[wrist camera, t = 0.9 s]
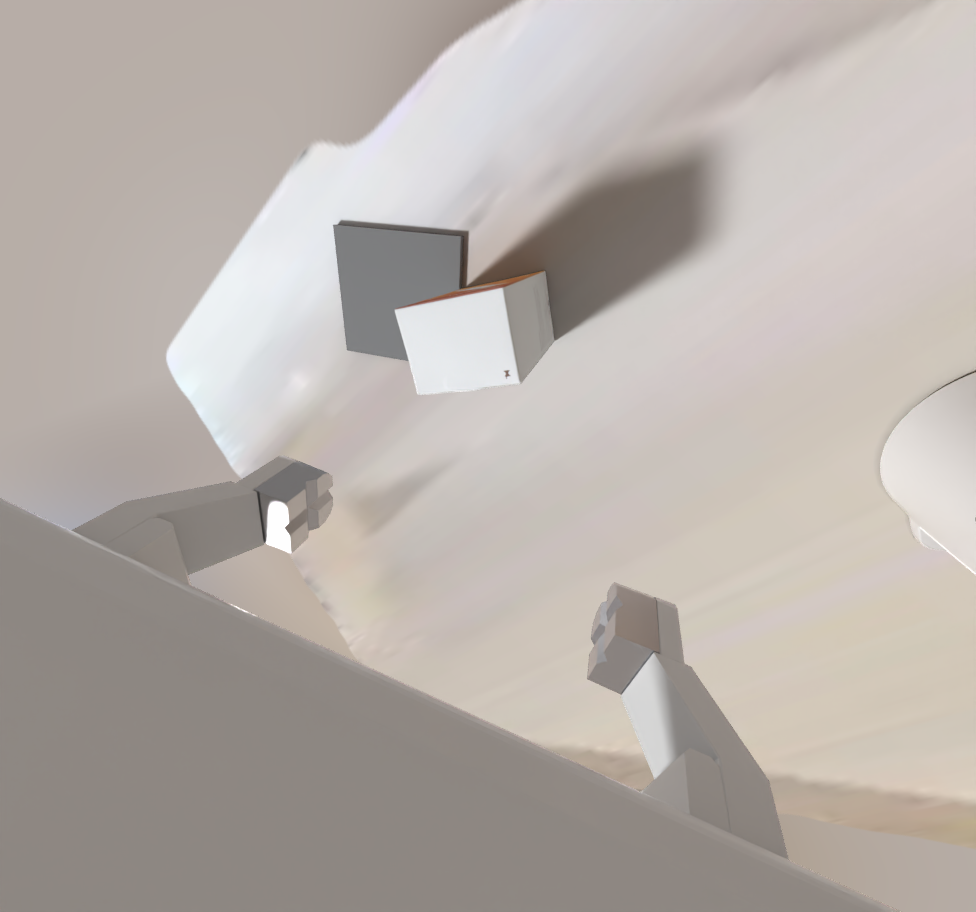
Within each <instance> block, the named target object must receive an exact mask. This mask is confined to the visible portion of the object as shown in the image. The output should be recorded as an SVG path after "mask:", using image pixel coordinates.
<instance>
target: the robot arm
mask: <svg viewBox="0 0 976 912" xmlns="http://www.w3.org/2000/svg"><path fill="white" fill-rule="evenodd" d="M880 474H881V479H882V482H883V485H884V487H885V489H886V491H887V493H888V494H889V496H890V497H891V498H892V499H893V500H894V501H895V502H896V503H897V504H898V505H899V506H900V507H901V508H902V509H903V510H904V511H905V512H906V513H907V515H908V516H909V520H910V525H911V530H912V533H913V536H914V537H915V539H916V540H917V541H918V542H920V543H921V544H922V545H923V546H925V547H926V548H929V549H932V550H940V551H948V552H949V553H950V554H951V555H952V556H953V557H955V558H956V559H957V560H958V561H959V562H961V563H962V564H963V565H964V566H965V567H967V568H968V569H969V570H970V571H971V572H973V573H974V574H975V575H976V372H975V373H973V374H970V375H968V376H965V377H963V378H961V379H959V380H957V381H954V382H952V383H950V384H949V385H947V386H945V387H943V388H941V389H940V390H938V391H936V392H935V393H933V394H932V395H930V396H929V397H927V398H926V399H925V400H923V401H922V402H921V403H919V404H918V405H917V406H916V407H914V408H913V409H912V410H911V411H910V412H909V413H908V414H907V415H906V416H905V417H904V418H903V419H902V420H901V421H900V422H899V424H898V425H897V426H896V427H895V429H894V430H893V432H892V433H891V435H890V436H889V438H888V440H887V442H886V444H885V447H884V449H883V452H882V456H881V461H880ZM332 486H333V481H332V476H331V475H330V474H329V473H327V472H324V471H322V470H319V469H317V468H314V467H312V466H310V465H307V464H305V463H302V462H300V461H296V460H294V459H292V458H289V457H287V456H278V457H277V458H275V459H274V460H272V461H270V462H269V463H267V464H266V465H264V466H262V467H261V468H259V469H258V470H256V471H254V472H253V473H251V474H250V475H248V476H246V477H245V478H243V479H242V480H240V481H238V482H237V483H234V482H225V483H220V484H215V485H210V486H205V487H199V488H194V489H189V490H184V491H178V492H173V493H168V494H163V495H157V496H152V497H147V498H142V499H137V500H131V501H126V502H124V503H122V504H120V505H119V506H117V507H115V508H113V509H111V510H109V511H107V512H105V513H103V514H102V515H100V516H98V517H96V518H94V519H92V520H90V521H88V522H87V523H85V524H83V525H81V526H79V527H77V528H75V529H73V530H69V529H67V528H65V527H63V526H60V525H58V524H56V523H54V522H52V521H49V520H47V519H45V518H43V517H41V516H39V515H36V514H34V513H32V512H30V511H28V510H26V509H23V508H21V507H19V506H17V505H15V504H13V503H10V502H8V501H6V500H4V499H2V498H0V912H901V911H899V910H897V909H895V908H893V907H890V906H888V905H886V904H884V903H882V902H879V901H877V900H875V899H873V898H871V897H869V896H866V895H864V894H862V893H860V892H858V891H855V890H853V889H851V888H849V887H847V886H845V885H842V884H840V883H838V882H836V881H834V880H831V879H829V878H827V877H825V876H823V875H821V874H818V873H816V872H814V871H812V870H810V869H807V868H805V867H803V866H801V865H799V864H797V863H794V862H792V861H790V860H789V859H788V855H787V851H786V847H785V843H784V839H783V835H782V831H781V827H780V823H779V819H778V815H777V811H776V807H775V803H774V799H773V795H772V791H771V787H770V783H769V780H768V779H767V777H766V776H765V774H764V773H763V771H762V770H761V768H760V767H759V765H758V764H757V762H756V761H755V760H754V758H753V757H752V755H751V754H750V752H749V751H748V749H747V748H746V746H745V745H744V743H743V742H742V741H741V739H740V738H739V736H738V735H737V733H736V732H735V730H734V729H733V727H732V726H731V724H730V723H729V722H728V720H727V719H726V717H725V716H724V714H723V713H722V711H721V710H720V708H719V707H718V705H717V704H716V703H715V701H714V700H713V698H712V697H711V695H710V694H709V692H708V691H707V689H706V688H705V686H704V685H703V684H702V682H701V681H700V679H699V678H698V676H697V675H696V673H695V672H694V670H693V669H692V667H690V666H688V665H686V664H685V663H684V655H683V648H682V640H681V632H680V625H679V617H678V610H677V607H676V605H675V604H672V603H670V602H667V601H664V600H661V599H659V598H656V597H652V596H650V595H647V594H645V593H642V592H639V591H637V590H634V589H631V588H628V587H626V586H623V585H620V584H618V583H615V582H614V583H613V584H612V585H611V587H610V589H609V591H608V595H607V601H606V602H603V603H601V605H600V607H599V609H598V611H597V613H596V616H595V619H594V622H593V627H592V634H591V640H592V642H593V644H594V647H593V649H592V651H591V652H590V654H589V663H588V675H587V679H588V680H590V681H593V682H595V683H597V684H599V685H601V686H604V687H606V688H608V689H610V690H612V691H615V692H617V693H619V694H621V698H622V701H623V703H624V706H625V708H626V710H627V713H628V715H629V718H630V720H631V723H632V725H633V728H634V730H635V732H636V735H637V737H638V740H639V742H640V745H641V747H642V750H643V752H644V754H645V757H646V759H647V762H648V764H649V767H650V769H651V771H652V774H653V776H654V779H655V780H653V781H652V782H651V783H650V784H649V785H648V786H647V787H646V788H645V789H644V790H643V791H642V792H640V791H638V790H635V789H633V788H631V787H629V786H627V785H624V784H622V783H620V782H618V781H616V780H614V779H611V778H609V777H607V776H605V775H603V774H601V773H598V772H596V771H594V770H592V769H590V768H587V767H585V766H583V765H581V764H579V763H577V762H574V761H572V760H570V759H568V758H566V757H564V756H561V755H559V754H557V753H555V752H553V751H550V750H548V749H546V748H544V747H542V746H540V745H537V744H535V743H533V742H531V741H529V740H526V739H524V738H522V737H520V736H518V735H516V734H513V733H511V732H509V731H507V730H505V729H502V728H500V727H498V726H496V725H494V724H492V723H489V722H487V721H485V720H483V719H481V718H479V717H476V716H474V715H472V714H470V713H468V712H465V711H463V710H461V709H459V708H457V707H455V706H452V705H450V704H448V703H446V702H444V701H441V700H439V699H437V698H435V697H433V696H431V695H428V694H426V693H424V692H422V691H420V690H417V689H415V688H413V687H411V686H409V685H407V684H404V683H402V682H400V681H398V680H396V679H393V678H391V677H389V676H387V675H385V674H383V673H380V672H378V671H376V670H374V669H372V668H369V667H367V666H365V665H363V664H361V663H359V662H356V661H354V660H352V659H350V658H348V657H345V656H343V655H341V654H339V653H337V652H335V651H332V650H330V649H328V648H326V647H323V646H321V645H319V644H317V643H315V642H313V641H311V640H308V639H306V638H304V637H302V636H300V635H297V634H295V633H293V632H291V631H289V630H287V629H284V628H282V627H280V626H278V625H276V624H274V623H271V622H269V621H267V620H265V619H262V618H260V617H258V616H256V615H254V614H252V613H250V612H247V611H245V610H243V609H241V608H239V607H237V606H234V605H232V604H230V603H228V602H226V601H223V600H221V599H219V598H217V597H215V596H213V595H210V594H208V593H206V592H204V591H202V590H200V589H197V588H195V587H193V586H191V582H190V579H189V576H188V575H189V574H192V573H194V572H197V571H199V570H202V569H204V568H207V567H209V566H212V565H214V564H217V563H219V562H222V561H224V560H227V559H229V558H232V557H234V556H237V555H239V554H242V553H244V552H247V551H249V550H252V549H254V548H257V547H259V546H262V545H264V543H266V544H268V545H271V546H273V547H276V548H279V549H281V550H284V551H286V552H289V553H293V552H294V551H295V550H296V549H297V548H298V547H299V546H300V545H301V544H302V543H303V542H304V541H305V540H306V539H307V538H308V533H309V531H310V530H313V529H316V528H319V527H320V526H321V525H322V524H323V523H324V522H325V521H326V520H327V518H328V516H329V514H330V513H331V510H332V506H333V497H332V496H331V494H330V492H329V490H328V489H330V488H331V487H332Z"/></svg>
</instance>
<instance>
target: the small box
mask: <svg viewBox="0 0 976 912" xmlns="http://www.w3.org/2000/svg"><path fill="white" fill-rule="evenodd" d="M395 314H396V318H397V321H398V325H399V328H400V331H401V335H402V339H403V342H404V346H405V349H406V353H407V356H408V360H409V364H410V367H411V371H412V375H413V379H414V382H415V386H416V390H417V393H418V394H419V395H428V394H439V393H449V392H465V391H474V390H481V389H486V388H494V387H502V386H510V385H518V384H521V383H522V382H523V380H524V379H525V378H526V377H527V375H528V374H529V373H530V372H531V370H532V369H533V368H534V367H535V365H536V364H537V363H538V361H539V360H540V359H541V358H542V356H543V355H544V354H545V353H546V351H547V350H548V349H549V347H550V346H551V345H552V344H553V342H554V334H553V326H552V319H551V311H550V304H549V296H548V287H547V280H546V272H545V271H540V272H536V273H532V274H528V275H523V276H519V277H514V278H510V279H505V280H501V281H496V282H492V283H487V284H482V285H477V286H473V287H467V288H463V289H460V290H457V291H453V292H450V293H447V294H444V295H440V296H437V297H434V298H431V299H427V300H423V301H420V302H417V303H414V304H410V305H407V306H403V307H400V308H396V309H395Z"/></svg>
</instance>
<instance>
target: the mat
mask: <svg viewBox="0 0 976 912" xmlns="http://www.w3.org/2000/svg"><path fill="white" fill-rule="evenodd" d="M333 227H334V236H335V245H336V254H337V263H338V273H339V282H340V291H341V300H342V309H343V318H344V327H345V336H346V345H347V350H349V351H355V352H360V353H366V354H372V355H377V356H383V357H389V358H394V359H400V360H406V361H409V360H408V356H407V353H406V349H405V346H404V342H403V339H402V335H401V331H400V328H399V325H398V321H397V318H396V314H395V309H396V308H400V307H403V306H407V305H410V304H414V303H417V302H420V301H423V300H427V299H431V298H434V297H437V296H440V295H444V294H447V293H450V292H453V291H457V290H460V289H461V288H462V258H463V236H453V235H442V234H431V233H421V232H410V231H399V230H388V229H377V228H366V227H355V226H344V225H333Z"/></svg>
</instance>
